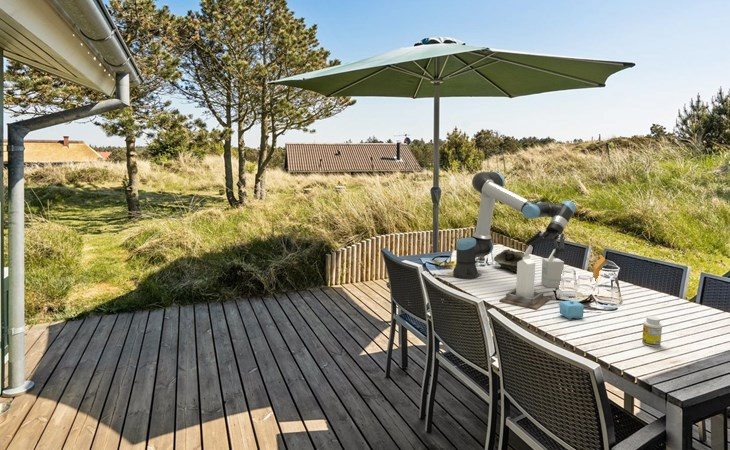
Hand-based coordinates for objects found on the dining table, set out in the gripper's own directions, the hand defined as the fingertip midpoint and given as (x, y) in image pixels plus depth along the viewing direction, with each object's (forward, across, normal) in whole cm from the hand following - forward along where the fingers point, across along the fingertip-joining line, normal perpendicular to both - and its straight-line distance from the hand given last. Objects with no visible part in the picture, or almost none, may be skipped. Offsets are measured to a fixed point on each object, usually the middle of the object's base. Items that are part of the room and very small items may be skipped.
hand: (537, 258), depth 198 cm
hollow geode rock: (-12, +44, -43) cm, 63 cm away
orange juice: (-10, -15, -39) cm, 43 cm away
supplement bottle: (+23, -57, -6) cm, 62 cm away
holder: (+20, 0, -9) cm, 22 cm away
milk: (+20, 0, -8) cm, 21 cm away
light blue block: (+22, -24, -7) cm, 34 cm away
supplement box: (-5, +10, -35) cm, 37 cm away
